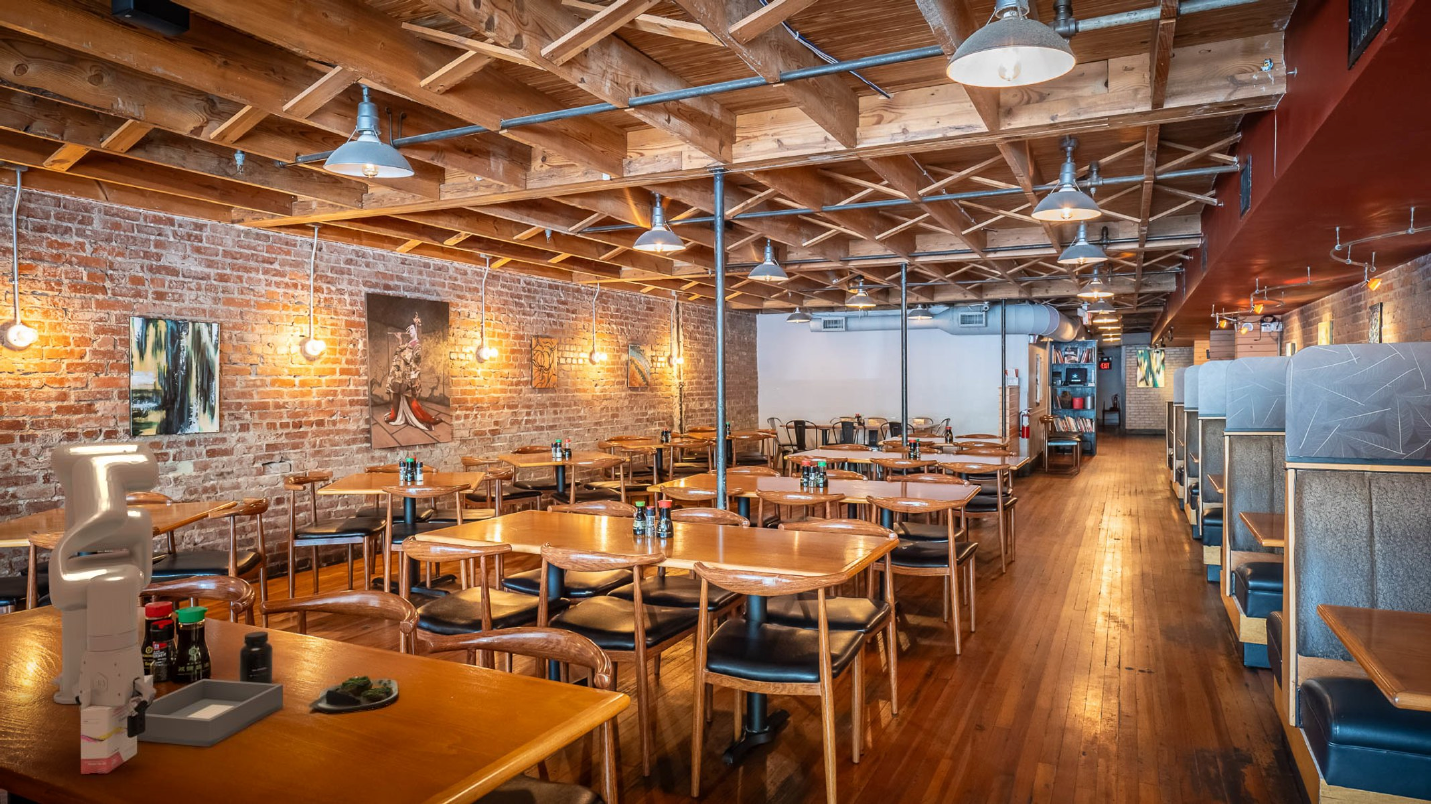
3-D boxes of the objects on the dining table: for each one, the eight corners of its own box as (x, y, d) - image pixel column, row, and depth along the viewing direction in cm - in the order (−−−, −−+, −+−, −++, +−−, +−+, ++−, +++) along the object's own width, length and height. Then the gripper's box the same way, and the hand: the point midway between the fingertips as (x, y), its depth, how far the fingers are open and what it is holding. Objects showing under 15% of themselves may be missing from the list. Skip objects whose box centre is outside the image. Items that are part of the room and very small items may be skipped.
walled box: (121, 739, 160) (121, 714, 160) (203, 701, 179) (203, 678, 179) (209, 747, 156) (209, 721, 156) (283, 707, 176) (282, 684, 176)
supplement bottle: (257, 691, 185) (257, 639, 185) (232, 689, 187) (231, 637, 187) (279, 680, 192) (279, 630, 192) (254, 679, 193) (254, 629, 193)
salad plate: (317, 688, 188) (317, 669, 188) (399, 679, 194) (399, 660, 194) (306, 720, 170) (306, 698, 170) (397, 708, 176) (397, 687, 176)
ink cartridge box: (109, 774, 145) (108, 692, 145) (79, 775, 144) (79, 693, 144) (139, 753, 153) (138, 676, 153) (111, 754, 153) (110, 676, 153)
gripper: (54, 644, 147) (55, 738, 147) (134, 649, 144) (135, 745, 144) (92, 632, 154) (93, 721, 154) (170, 637, 151) (171, 728, 151)
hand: (114, 733), depth 149 cm, fingers open, 9 cm apart
